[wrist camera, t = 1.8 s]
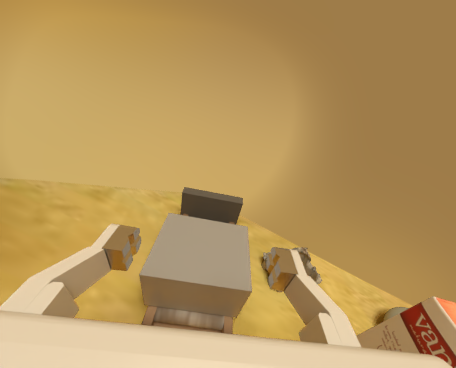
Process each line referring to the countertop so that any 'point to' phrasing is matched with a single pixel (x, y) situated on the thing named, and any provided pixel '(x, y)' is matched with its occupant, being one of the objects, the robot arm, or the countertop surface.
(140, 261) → the countertop surface
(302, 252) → the egg carton
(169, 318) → the roller bed
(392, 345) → the cracker box
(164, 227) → the grey cardboard box
